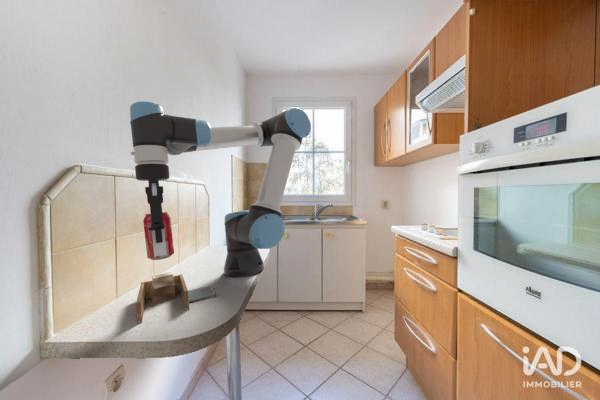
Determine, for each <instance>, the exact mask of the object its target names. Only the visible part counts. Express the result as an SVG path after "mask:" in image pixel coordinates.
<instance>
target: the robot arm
mask: <svg viewBox="0 0 600 400" xmlns="http://www.w3.org/2000/svg"><path fill="white" fill-rule="evenodd" d="M129 113H130V121H129V124H130V130H131V131H130V132H131V139H132V147H133V151H131V152H130V155H131V156H134V163H135V164H136V165H135V166H134V169H135V179H136V180H137V181H141V182H148V186H144V187H145V188H144V189H145V190H144V191H145V194H146V200H147V204H148V205H149V212H150V214H151V222H152V225H151V228H149V231H152V237H153V248H154V257H156V256H161V255H167V252H166V241H165V231H164V223H163V215H162V212H163V208H162V204H163V203H164V186H163V185H160V182H159V181H166V180H167V181H168V180H169V179H170V177H171V176H170V167H169V165H167V164H168V163H169V155H170V156H179V155H182V154H183V153H193V152H198V151H207V150H216V149H227V148H237V147H244V146H246V147H247V146H253V147H256V148H259V147H272V148H271V151H270V156H269V159H268V161H267V165H266V168H265V172H264V175H263V178H262V182H261V185H260V188H259V191H258V195H257V199H256V201H255V202H254V203H252V204H250V206H249V210H240V211H239V210H238V211H233V212H229V213H227V214H225V216H224V223H223V224H224V230H225V242H226V252H227V253H226V258H225V262H224V266H223V273H224V276H225V277H230V278H239V277H240V278H241V277H242V278H243V277H249V276H253V275H256V274H259V273H261V272H263V271H264V270H265V265H264V260H263V258H262V256H261V254H260V251H259V250H264V249H265V250H267V249H273V248H274V247H276V246H277V245H279V244H280V242H281V241H282V239H283V238H284V235H285V229H286V227H285V224H284V220H283V219H282V218H283V212H282V211H281V204H282V201H283V197H284V194H285V190H286V186H287V182H288V179H289V175H290V170H291V168H292V167H291V166H292V164H293V159H294V158H295V157H294V156H295V152H296V151H297V150H300V148H301V146H302V142H303V139H304V138H307V136H309V135H310V133H311V130H312V124H311V121H310V119H309V116H308V114H307V113H306V112H305V111H304V110H303V109H302V108H299V107H296V106H294V107H290V108H286V109H285V110H284V111H282V112H280V113H278V114H277V115H274V116H272V117H270V118H269V119H266V120H264V121H260V122H253V123H252V124H251V125H239V126H238V125H237V126H235V125H233V126H221V127H219V126H218V127H216V126H215V127H211V125H210V123H209V122H208V121H206V120H203V119H198V118H190V117H182V116H176V115H175V116H174V115H169V114H165V111H164V109H163V107H162V106H161V105H160V104H157V103H155V102H151V101H144V100H143V101H136V102H134V103H132V104H131V105H130V107H129Z"/></svg>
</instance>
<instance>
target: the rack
mask: <svg viewBox="0 0 600 400" xmlns="http://www.w3.org/2000/svg"><path fill="white" fill-rule="evenodd" d="M173 281H174V285H175V293H177V292H180V293H181V298H182V301H183V304H185V305H184V308H186V309H185V311H189V310H190V303H189V300H188V291H189V290H188V287H187V284H186V281H185V279H184V275H183V274H182V273H181V274H176V275H173ZM151 286H153V281H152V279H151V280H147V281H143V282H141V281H140V287H139V289H138V290H139V291H138V295H137V298H136V314H137V315H136V316H137V324H142V323H143V319H144V313H145V306H146V305H145V304H146V300H148V299H152V296H151Z"/></svg>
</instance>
